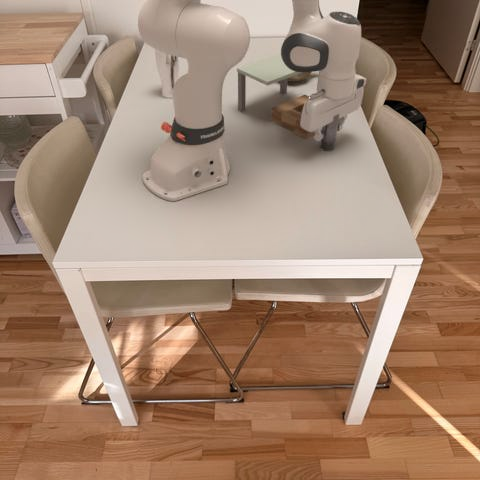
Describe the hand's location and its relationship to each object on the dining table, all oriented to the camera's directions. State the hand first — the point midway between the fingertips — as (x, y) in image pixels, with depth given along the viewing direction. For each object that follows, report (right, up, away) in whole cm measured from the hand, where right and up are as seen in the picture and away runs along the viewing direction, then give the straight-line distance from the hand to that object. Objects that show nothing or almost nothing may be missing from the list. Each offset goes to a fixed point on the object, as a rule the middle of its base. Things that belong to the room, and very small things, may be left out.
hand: (328, 134), depth 122 cm
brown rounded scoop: (-4, +28, +36) cm, 46 cm away
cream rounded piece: (-46, +20, +28) cm, 58 cm away
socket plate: (-5, +7, +13) cm, 15 cm away
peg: (0, -3, +2) cm, 4 cm away
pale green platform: (-13, +13, +20) cm, 27 cm away
